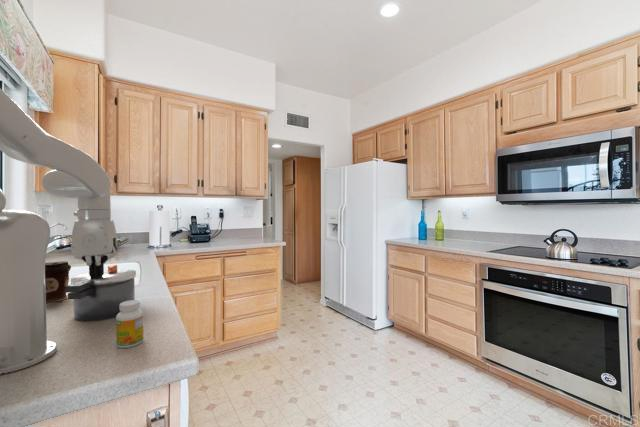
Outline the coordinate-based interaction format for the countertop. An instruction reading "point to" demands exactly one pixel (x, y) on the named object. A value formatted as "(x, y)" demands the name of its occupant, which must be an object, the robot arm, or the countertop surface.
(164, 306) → the countertop surface
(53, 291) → the coffee cup
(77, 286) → the cooker lid
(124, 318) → the supplement bottle
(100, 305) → the cooker pot
